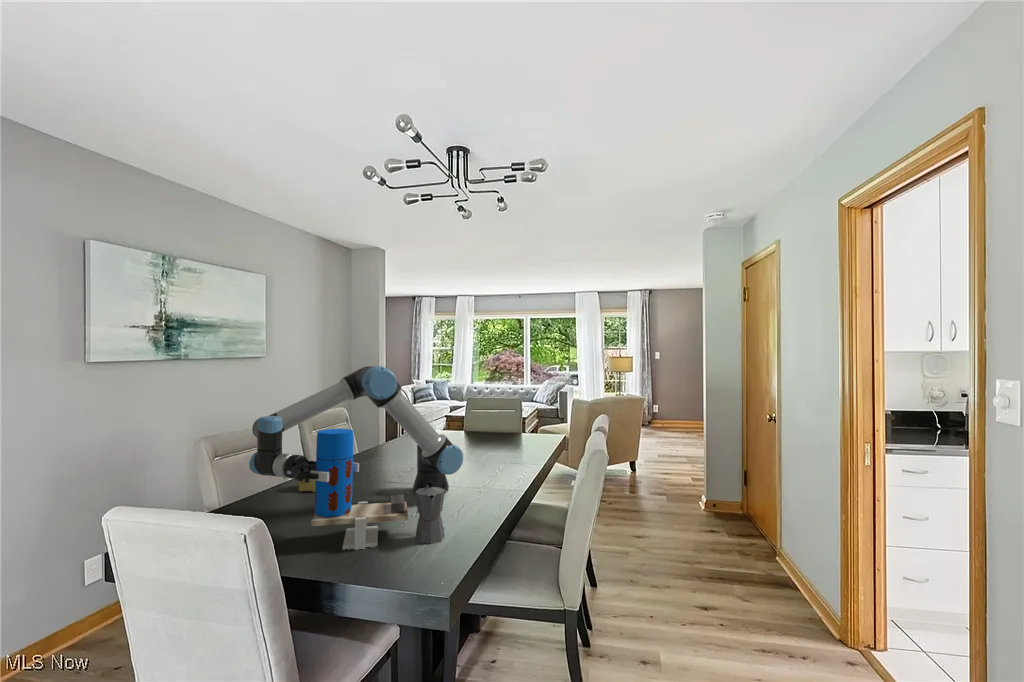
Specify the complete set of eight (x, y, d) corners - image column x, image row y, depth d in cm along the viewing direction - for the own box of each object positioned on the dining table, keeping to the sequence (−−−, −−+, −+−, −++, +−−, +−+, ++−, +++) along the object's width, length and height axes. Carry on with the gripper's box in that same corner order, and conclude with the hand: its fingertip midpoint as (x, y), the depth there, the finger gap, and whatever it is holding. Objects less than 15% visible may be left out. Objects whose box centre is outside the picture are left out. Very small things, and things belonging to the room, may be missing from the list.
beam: (406, 506, 167) (406, 492, 167) (407, 519, 153) (408, 504, 153) (317, 511, 160) (317, 497, 160) (311, 526, 146) (311, 510, 147)
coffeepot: (446, 545, 151) (447, 485, 152) (415, 547, 149) (415, 487, 150) (442, 528, 166) (442, 474, 167) (413, 530, 164) (414, 475, 165)
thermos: (358, 508, 158) (360, 429, 159) (336, 519, 148) (338, 434, 148) (330, 504, 161) (332, 427, 162) (307, 514, 151) (309, 432, 152)
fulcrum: (378, 527, 166) (378, 500, 167) (377, 548, 149) (377, 517, 149) (347, 530, 164) (347, 502, 164) (342, 551, 146) (342, 520, 147)
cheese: (319, 493, 208) (320, 469, 208) (296, 491, 210) (297, 468, 210) (333, 486, 218) (333, 463, 218) (311, 485, 220) (312, 462, 220)
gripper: (319, 469, 173) (369, 475, 165) (259, 487, 150) (313, 494, 142) (319, 448, 173) (369, 452, 166) (259, 462, 150) (314, 468, 142)
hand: (344, 472), depth 154 cm, fingers open, 13 cm apart
